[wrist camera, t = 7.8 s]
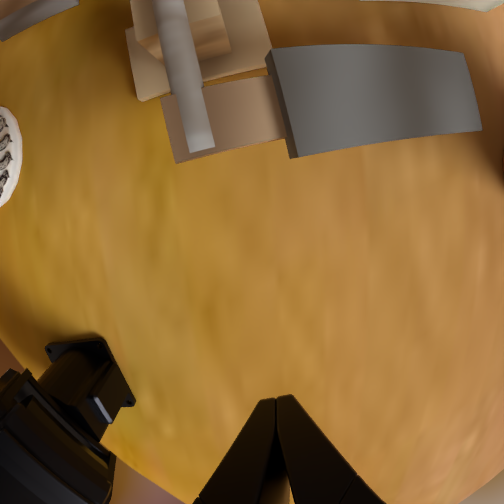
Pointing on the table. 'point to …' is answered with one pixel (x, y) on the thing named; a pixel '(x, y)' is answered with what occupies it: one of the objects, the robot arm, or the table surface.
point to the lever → (296, 91)
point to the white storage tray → (459, 3)
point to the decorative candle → (9, 154)
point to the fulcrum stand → (199, 42)
